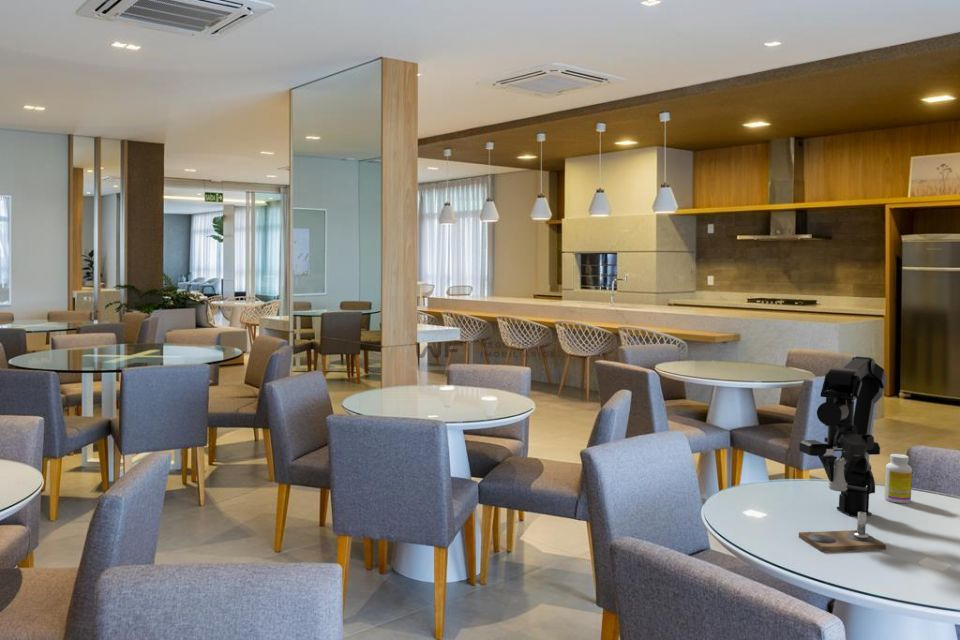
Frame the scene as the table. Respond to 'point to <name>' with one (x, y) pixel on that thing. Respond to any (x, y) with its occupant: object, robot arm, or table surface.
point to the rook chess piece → (838, 476)
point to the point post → (861, 526)
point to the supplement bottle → (898, 479)
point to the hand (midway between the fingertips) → (838, 481)
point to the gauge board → (840, 541)
